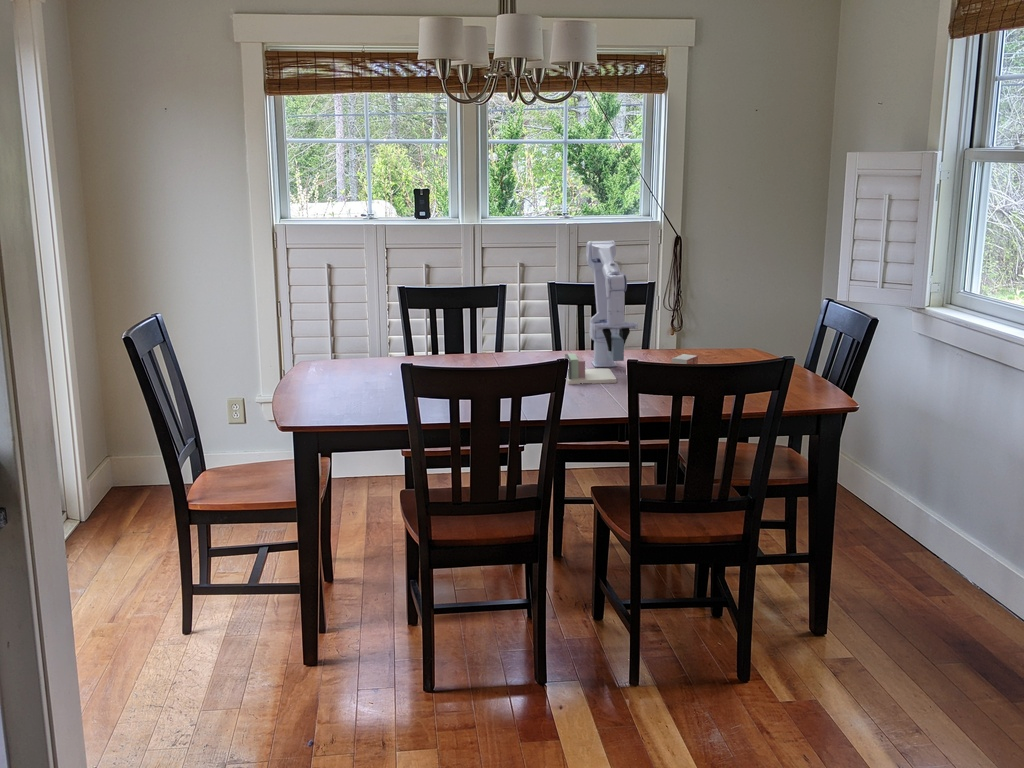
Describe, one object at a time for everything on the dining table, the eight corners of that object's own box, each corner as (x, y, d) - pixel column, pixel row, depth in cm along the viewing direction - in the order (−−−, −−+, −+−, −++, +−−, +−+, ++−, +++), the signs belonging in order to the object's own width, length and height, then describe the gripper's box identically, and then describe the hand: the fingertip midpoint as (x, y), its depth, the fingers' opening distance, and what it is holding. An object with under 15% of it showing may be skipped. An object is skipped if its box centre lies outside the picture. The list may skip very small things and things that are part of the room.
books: (567, 371, 337) (567, 353, 335) (581, 371, 337) (581, 353, 335) (571, 378, 327) (570, 359, 326) (585, 378, 327) (585, 359, 326)
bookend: (564, 371, 338) (564, 354, 336) (567, 371, 338) (567, 354, 336) (568, 379, 326) (568, 361, 325) (571, 379, 326) (571, 361, 325)
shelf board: (563, 373, 340) (563, 369, 340) (609, 371, 341) (609, 368, 340) (568, 384, 324) (568, 380, 324) (616, 382, 325) (616, 379, 325)
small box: (686, 392, 311) (686, 359, 308) (670, 390, 314) (670, 357, 312) (697, 387, 317) (698, 355, 315) (682, 385, 320) (682, 353, 318)
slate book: (608, 354, 337) (608, 334, 335) (618, 354, 337) (618, 334, 336) (613, 361, 327) (613, 340, 326) (623, 360, 328) (623, 340, 326)
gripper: (596, 313, 324) (596, 353, 328) (639, 311, 325) (639, 352, 329) (592, 309, 331) (592, 349, 334) (635, 308, 332) (635, 347, 335)
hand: (615, 350), depth 332 cm, fingers closed on slate book, 3 cm apart
